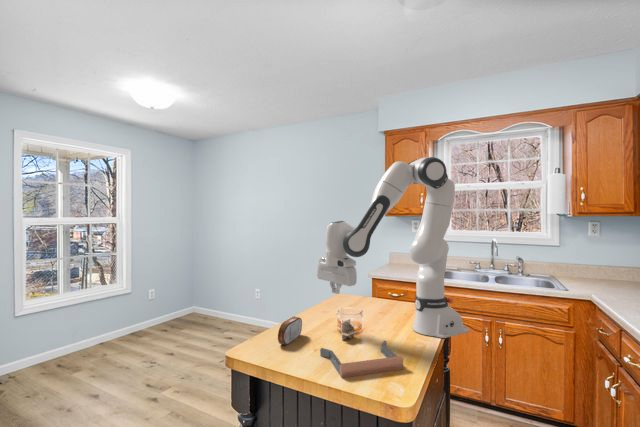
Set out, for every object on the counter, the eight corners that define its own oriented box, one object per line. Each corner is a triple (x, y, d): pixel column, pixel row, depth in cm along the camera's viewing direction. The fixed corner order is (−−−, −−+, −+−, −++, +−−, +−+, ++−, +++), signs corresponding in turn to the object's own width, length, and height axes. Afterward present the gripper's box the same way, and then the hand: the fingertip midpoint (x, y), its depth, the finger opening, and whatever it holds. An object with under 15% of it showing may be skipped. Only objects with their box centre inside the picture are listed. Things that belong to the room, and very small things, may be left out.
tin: (296, 333, 133) (296, 313, 133) (303, 335, 132) (303, 314, 132) (277, 347, 120) (276, 324, 120) (284, 349, 118) (284, 325, 118)
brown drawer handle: (385, 347, 119) (385, 337, 119) (409, 368, 103) (409, 357, 103) (319, 355, 113) (319, 345, 113) (334, 378, 96) (334, 367, 96)
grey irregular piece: (357, 339, 128) (357, 320, 128) (347, 345, 122) (347, 325, 122) (350, 337, 130) (350, 318, 130) (340, 342, 124) (339, 323, 124)
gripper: (313, 257, 141) (313, 289, 141) (348, 263, 126) (348, 299, 126) (324, 256, 145) (324, 287, 145) (359, 262, 130) (358, 296, 130)
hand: (335, 293), depth 135 cm, fingers closed
